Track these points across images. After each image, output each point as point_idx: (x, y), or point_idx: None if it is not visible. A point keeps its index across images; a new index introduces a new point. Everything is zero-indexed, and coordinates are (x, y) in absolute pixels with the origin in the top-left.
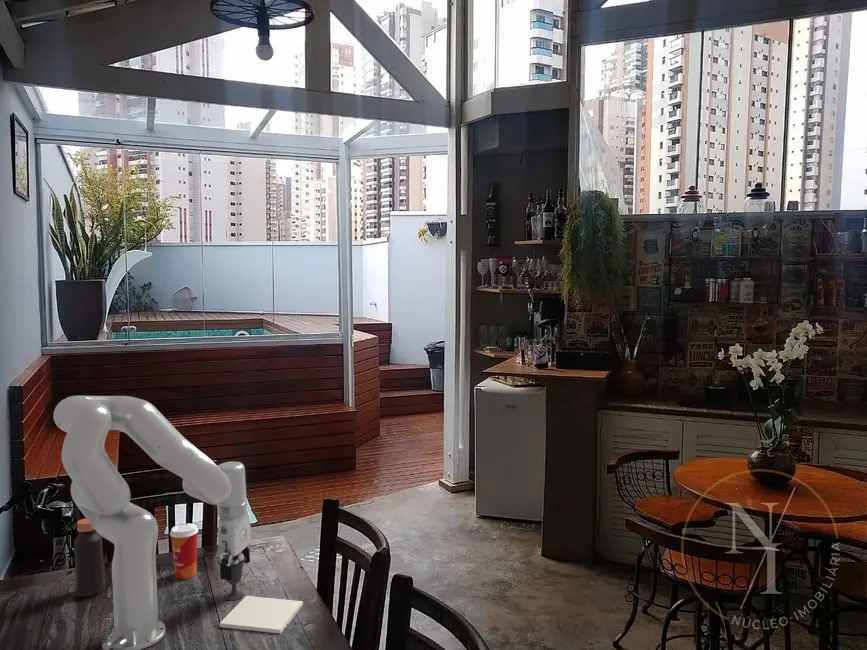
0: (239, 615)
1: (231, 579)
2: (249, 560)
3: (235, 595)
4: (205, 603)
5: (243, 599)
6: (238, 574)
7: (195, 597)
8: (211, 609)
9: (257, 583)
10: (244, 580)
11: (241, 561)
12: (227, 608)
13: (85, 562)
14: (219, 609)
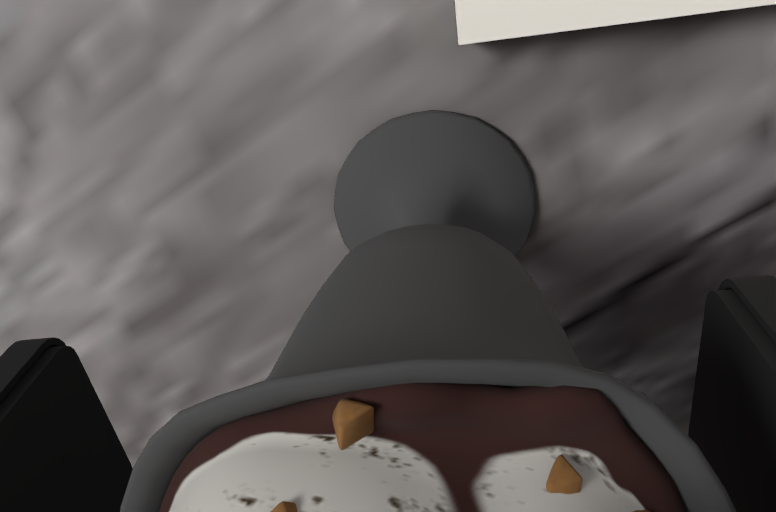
0: None
1: (768, 276)
2: (21, 357)
3: (467, 186)
4: (627, 372)
5: (559, 22)
6: (495, 276)
7: None
8: (738, 268)
9: (93, 138)
10: (118, 293)
11: (437, 422)
12: (701, 126)
13: None
14: (732, 195)
